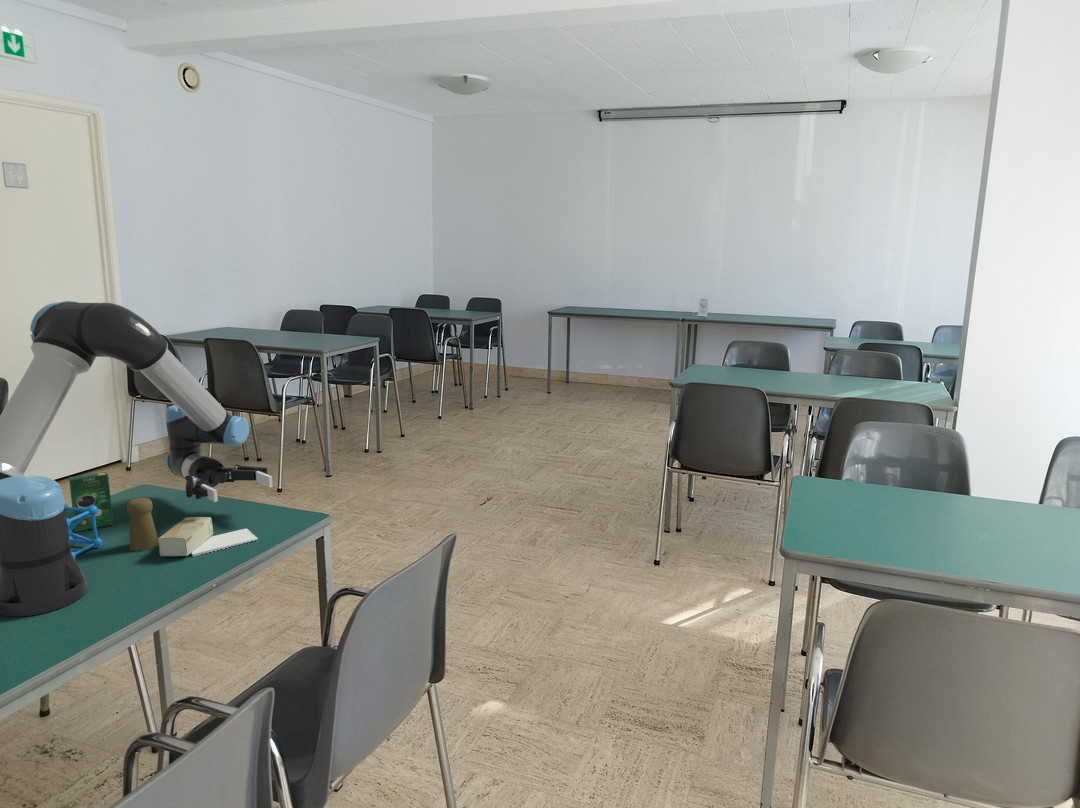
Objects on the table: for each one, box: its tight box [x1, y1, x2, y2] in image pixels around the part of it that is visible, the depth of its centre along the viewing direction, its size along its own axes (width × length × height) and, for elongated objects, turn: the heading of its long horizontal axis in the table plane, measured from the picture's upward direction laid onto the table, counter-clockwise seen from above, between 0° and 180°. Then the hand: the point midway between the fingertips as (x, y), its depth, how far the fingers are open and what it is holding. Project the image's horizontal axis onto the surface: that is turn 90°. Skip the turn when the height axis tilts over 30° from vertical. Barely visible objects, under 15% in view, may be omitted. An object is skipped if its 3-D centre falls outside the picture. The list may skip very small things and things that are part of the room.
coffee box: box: [68, 471, 114, 533], centre depth 181 cm, size 8×3×13 cm, turn 129°
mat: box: [189, 528, 259, 558], centre depth 172 cm, size 14×8×1 cm, turn 128°
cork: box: [125, 497, 159, 552], centre depth 170 cm, size 6×6×11 cm
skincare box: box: [158, 516, 214, 557], centre depth 169 cm, size 6×4×12 cm
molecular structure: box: [65, 503, 104, 560], centre depth 166 cm, size 10×10×10 cm
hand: (244, 488), depth 178 cm, fingers open, 13 cm apart
